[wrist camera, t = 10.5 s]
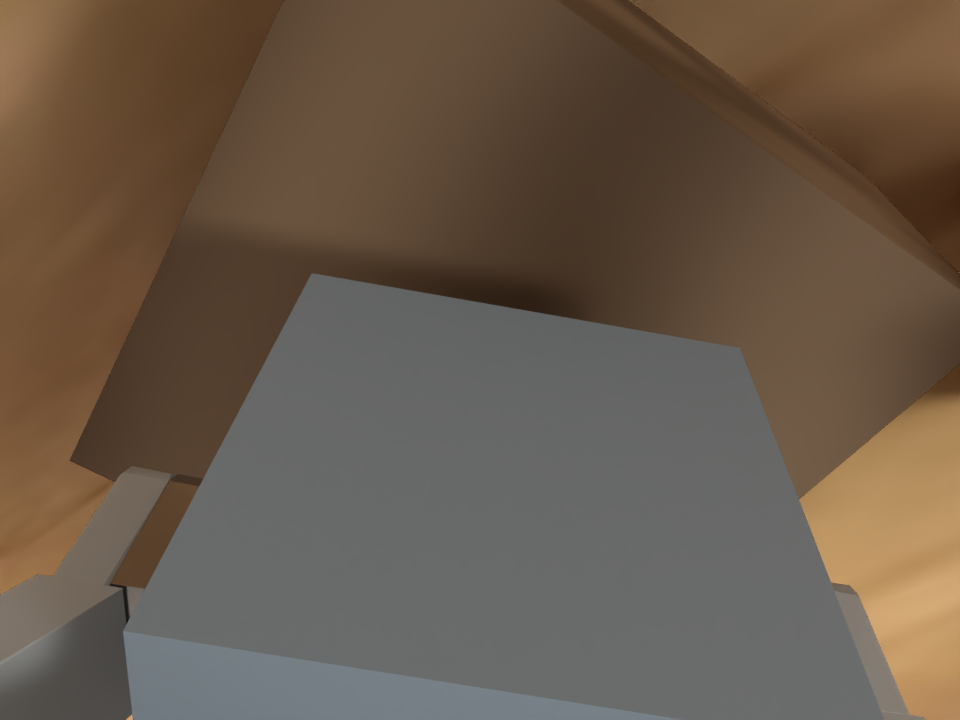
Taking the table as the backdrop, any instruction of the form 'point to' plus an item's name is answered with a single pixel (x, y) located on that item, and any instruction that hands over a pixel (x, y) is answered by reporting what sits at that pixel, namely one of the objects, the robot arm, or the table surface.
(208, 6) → the table surface
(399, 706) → the slate block
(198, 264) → the walnut block
